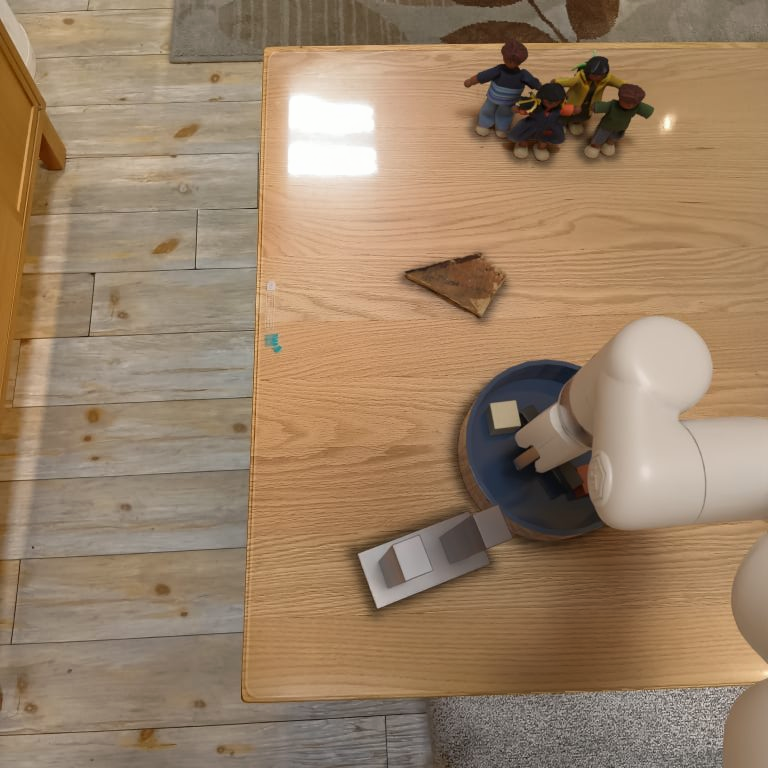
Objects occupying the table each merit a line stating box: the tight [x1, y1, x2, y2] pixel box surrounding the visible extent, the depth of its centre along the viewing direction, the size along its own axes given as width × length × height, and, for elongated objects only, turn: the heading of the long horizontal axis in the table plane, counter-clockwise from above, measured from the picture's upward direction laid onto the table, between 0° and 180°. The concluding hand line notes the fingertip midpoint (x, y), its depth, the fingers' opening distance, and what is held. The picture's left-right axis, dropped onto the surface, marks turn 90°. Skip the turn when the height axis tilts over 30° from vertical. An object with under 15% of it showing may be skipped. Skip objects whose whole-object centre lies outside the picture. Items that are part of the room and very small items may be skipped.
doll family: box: [463, 39, 655, 162], centre depth 86 cm, size 23×9×13 cm, turn 99°
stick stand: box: [356, 504, 514, 610], centre depth 64 cm, size 6×13×20 cm, turn 111°
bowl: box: [457, 358, 607, 542], centre depth 76 cm, size 19×19×6 cm
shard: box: [404, 252, 508, 318], centre depth 84 cm, size 11×8×2 cm
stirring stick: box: [519, 405, 584, 492], centre depth 75 cm, size 2×10×2 cm, turn 30°
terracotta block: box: [573, 464, 589, 498], centre depth 75 cm, size 3×3×3 cm
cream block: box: [485, 400, 521, 436], centre depth 77 cm, size 3×3×3 cm
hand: (544, 452), depth 77 cm, fingers closed on stirring stick, 1 cm apart
